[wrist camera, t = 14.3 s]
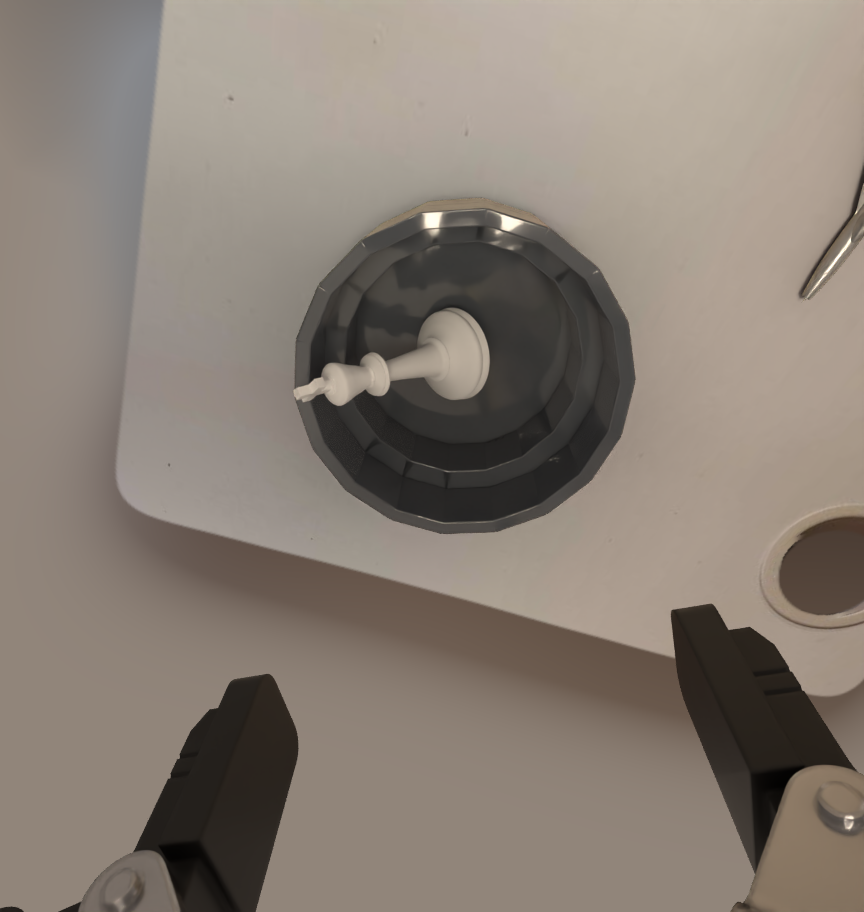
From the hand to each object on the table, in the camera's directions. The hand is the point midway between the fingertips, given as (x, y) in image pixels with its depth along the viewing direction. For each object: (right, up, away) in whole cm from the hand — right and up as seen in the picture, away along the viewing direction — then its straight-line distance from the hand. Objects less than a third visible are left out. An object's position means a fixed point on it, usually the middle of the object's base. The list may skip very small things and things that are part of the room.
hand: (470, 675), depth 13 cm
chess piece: (+1, +10, +22) cm, 24 cm away
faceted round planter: (+1, +11, +24) cm, 26 cm away
